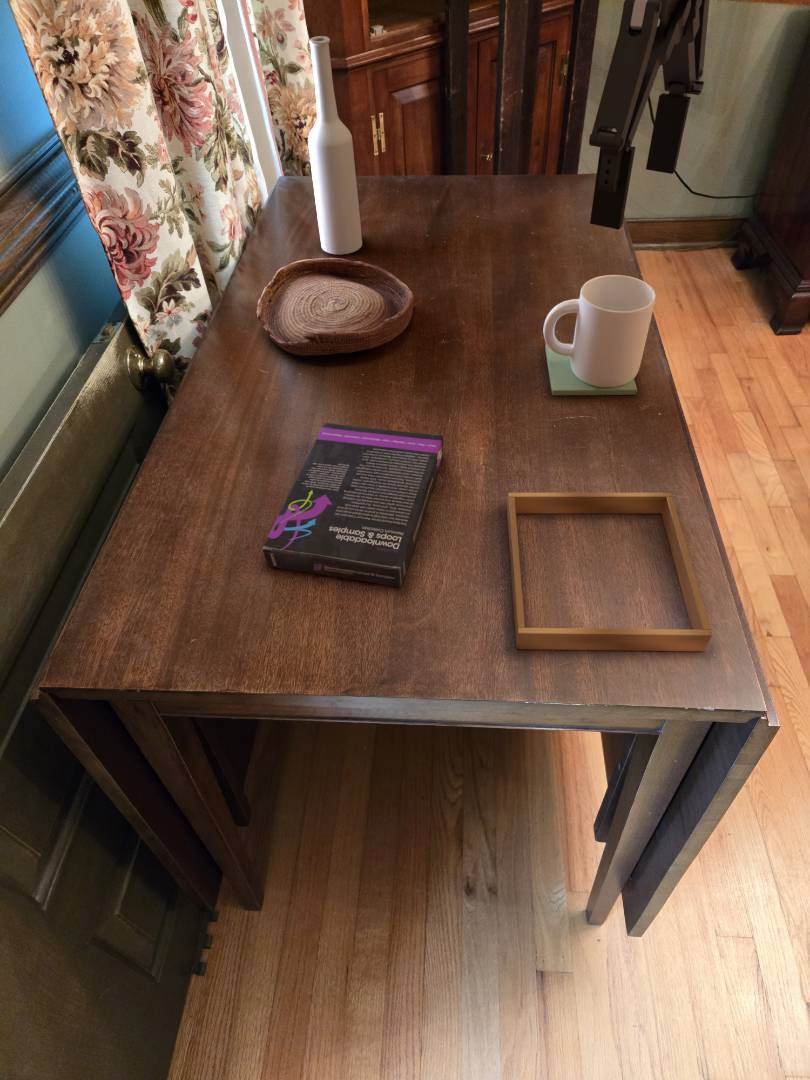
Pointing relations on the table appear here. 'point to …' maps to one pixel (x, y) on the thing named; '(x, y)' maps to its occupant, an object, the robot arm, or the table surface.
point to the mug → (605, 329)
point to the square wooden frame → (609, 637)
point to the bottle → (332, 163)
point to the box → (357, 504)
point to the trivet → (577, 379)
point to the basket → (333, 307)
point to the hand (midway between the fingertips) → (634, 196)
